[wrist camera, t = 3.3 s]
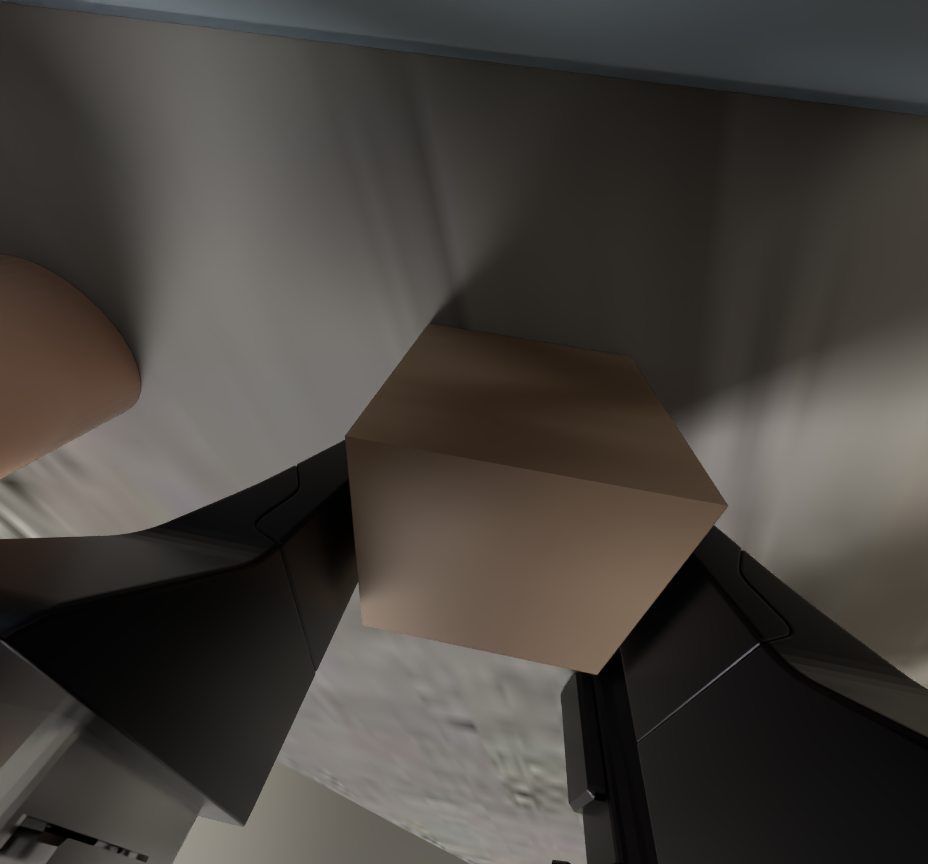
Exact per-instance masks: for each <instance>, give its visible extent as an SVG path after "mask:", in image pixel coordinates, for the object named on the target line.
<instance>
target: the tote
mask: <svg viewBox="0 0 928 864" xmlns="http://www.w3.org/2000/svg"><path fill="white" fill-rule="evenodd" d="M0 2H6V3H14V4H22V5H30V6H38V7H47V8H55V9H63V10H71V11H79V12H87V13H95V14H103V15H112V16H120V17H128V18H136V19H144V20H152V21H160V22H169V23H177V24H185V25H193V26H201V27H209V28H217V29H225V30H234V31H242V32H250V33H258V34H266V35H274V36H282V37H290V38H299V39H307V40H315V41H323V42H331V43H339V44H347V45H355V46H364V47H372V48H380V49H388V50H396V51H404V52H412V53H421V54H429V55H437V56H445V57H453V58H461V59H469V60H477V61H486V62H494V63H502V64H510V65H518V66H526V67H534V68H542V69H551V70H559V71H567V72H575V73H583V74H591V75H599V76H608V77H616V78H624V79H632V80H640V81H648V82H656V83H664V84H673V85H681V86H689V87H697V88H705V89H713V90H721V91H729V92H738V93H746V94H754V95H762V96H770V97H778V98H786V99H794V100H803V101H811V102H819V103H827V104H835V105H843V106H851V107H860V108H868V109H876V110H884V111H892V112H900V113H908V114H916V115H925V116H928V0H0Z"/></svg>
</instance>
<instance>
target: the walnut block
mask: <svg viewBox="0 0 928 864" xmlns="http://www.w3.org/2000/svg"><path fill="white" fill-rule="evenodd" d="M345 441H346V452H347V462H348V473H349V484H350V495H351V506H352V517H353V528H354V538H355V549H356V560H357V571H358V582H359V593H360V604H361V614H362V625H364V626H368V627H373V628H378V629H382V630H387V631H392V632H397V633H401V634H406V635H411V636H416V637H420V638H425V639H430V640H435V641H439V642H444V643H449V644H454V645H458V646H463V647H468V648H473V649H477V650H482V651H487V652H491V653H496V654H501V655H506V656H510V657H515V658H520V659H525V660H529V661H534V662H539V663H544V664H548V665H553V666H558V667H563V668H567V669H572V670H577V671H581V672H586V673H591V674H596V675H598V673H599V672H600V671H601V669H602V668H603V667H604V665H605V664H606V663H607V662H608V660H609V659H610V658H611V656H612V655H613V654H614V653H615V651H616V650H617V649H618V647H619V646H620V645H621V644H622V642H623V641H624V640H625V638H626V637H627V636H628V635H629V633H630V632H631V631H632V629H633V628H634V627H635V626H636V624H637V623H638V622H639V620H640V619H641V618H642V617H643V615H644V614H645V613H646V611H647V610H648V609H649V608H650V606H651V605H652V604H653V602H654V601H655V600H656V599H657V597H658V596H659V595H660V593H661V592H662V591H663V590H664V588H665V587H666V586H667V584H668V583H669V582H670V581H671V579H672V578H673V577H674V575H675V574H676V573H677V572H678V570H679V569H680V568H681V566H682V565H683V564H684V562H685V561H686V560H687V559H688V557H689V556H690V555H691V553H692V552H693V551H694V550H695V548H696V547H697V546H698V544H699V543H700V542H701V541H702V539H703V538H704V537H705V535H706V534H707V533H708V532H709V530H710V529H711V528H712V526H713V525H714V524H715V523H716V521H717V520H718V519H719V517H720V516H721V515H722V514H723V512H724V511H725V510H726V508H727V507H728V505H727V503H726V502H725V500H724V499H723V497H722V496H721V494H720V492H719V491H718V489H717V488H716V486H715V485H714V483H713V482H712V480H711V479H710V477H709V476H708V474H707V473H706V471H705V469H704V468H703V466H702V465H701V463H700V462H699V460H698V459H697V457H696V456H695V454H694V453H693V451H692V450H691V448H690V446H689V445H688V443H687V442H686V440H685V439H684V437H683V436H682V434H681V433H680V431H679V430H678V428H677V427H676V425H675V423H674V422H673V420H672V419H671V417H670V416H669V414H668V413H667V411H666V410H665V408H664V407H663V405H662V404H661V402H660V400H659V399H658V397H657V396H656V394H655V393H654V391H653V390H652V388H651V387H650V385H649V384H648V382H647V381H646V379H645V377H644V376H643V374H642V373H641V371H640V370H639V368H638V367H637V365H636V364H635V362H634V361H633V359H632V358H631V356H625V355H618V354H612V353H606V352H600V351H594V350H588V349H582V348H576V347H570V346H564V345H558V344H551V343H545V342H539V341H533V340H527V339H521V338H515V337H509V336H503V335H497V334H490V333H484V332H478V331H472V330H466V329H460V328H454V327H448V326H442V325H436V324H430V323H429V324H428V325H427V327H426V328H425V329H424V331H423V332H422V333H421V335H420V336H419V337H418V339H417V340H416V341H415V343H414V344H413V345H412V347H411V348H410V349H409V351H408V352H407V353H406V355H405V356H404V357H403V359H402V360H401V362H400V363H399V364H398V366H397V367H396V368H395V370H394V371H393V372H392V374H391V375H390V376H389V378H388V379H387V380H386V382H385V383H384V384H383V386H382V387H381V388H380V390H379V391H378V392H377V394H376V395H375V396H374V398H373V399H372V400H371V402H370V403H369V404H368V406H367V407H366V408H365V410H364V411H363V412H362V414H361V415H360V416H359V418H358V419H357V421H356V422H355V423H354V425H353V426H352V427H351V429H350V430H349V431H348V433H347V434H346V435H345Z"/></svg>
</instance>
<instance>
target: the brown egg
mask: <svg viewBox="0 0 928 864" xmlns="http://www.w3.org/2000/svg"><path fill="white" fill-rule="evenodd" d="M140 389H141V382H140V375H139V371H138V367H137V364H136V362H135V359H134V357H133V355H132V353H131V351H130V349H129V347H128V345H127V344H126V342H125V340H124V339H123V337H122V336H121V334H120V333H119V332H118V330H117V329H116V327H115V326H114V325H113V324H112V322H111V321H110V320H109V319H108V318H107V317H106V315H105V314H104V313H103V312H102V311H101V310H100V309H99V308H98V307H97V306H96V305H95V304H94V303H93V302H92V301H91V300H90V299H88V298H87V297H86V296H85V295H84V294H83V293H82V292H80V291H79V290H78V289H76V288H75V287H74V286H73V285H71V284H70V283H69V282H67V281H66V280H64V279H63V278H61V277H60V276H58V275H57V274H55V273H53V272H51V271H50V270H48V269H46V268H44V267H42V266H40V265H38V264H36V263H33V262H31V261H28V260H25V259H23V258H20V257H16V256H11V255H6V254H0V479H2V478H3V477H5V476H7V475H9V474H11V473H13V472H15V471H16V470H18V469H20V468H22V467H24V466H26V465H27V464H29V463H31V462H33V461H35V460H37V459H38V458H40V457H42V456H44V455H46V454H48V453H50V452H51V451H53V450H55V449H57V448H59V447H61V446H62V445H64V444H66V443H68V442H70V441H72V440H74V439H75V438H77V437H79V436H81V435H83V434H85V433H86V432H88V431H90V430H92V429H94V428H96V427H98V426H99V425H101V424H103V423H105V422H107V421H109V420H110V419H112V418H114V417H116V416H118V415H120V414H122V413H123V412H125V411H127V410H129V409H130V408H132V407H133V406H134V405H135V403H136V402H137V400H138V398H139V395H140Z"/></svg>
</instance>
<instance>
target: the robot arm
mask: <svg viewBox="0 0 928 864" xmlns="http://www.w3.org/2000/svg"><path fill="white" fill-rule="evenodd" d="M357 583H358V571H357V560H356V549H355V538H354V528H353V517H352V506H351V495H350V484H349V473H348V462H347V452H346V441H345V440H343V441H342V442H340V443H338V444H336V445H334V446H332V447H330V448H328V449H326V450H324V451H322V452H320V453H318V454H316V455H314V456H312V457H310V458H308V459H306V460H305V461H303V462H301V463H299V464H297V466H293V467H291V468H289V469H287V470H285V471H283V472H281V473H279V474H277V475H275V476H273V477H271V478H269V479H267V480H264V481H262V482H260V483H258V484H256V485H254V486H251V487H249V488H247V489H245V490H242V491H240V492H238V493H236V494H233V495H231V496H229V497H226V498H224V499H221V500H219V501H217V502H214V503H212V504H210V505H207V506H205V507H202V508H200V509H198V510H195V511H193V512H191V513H188V514H186V515H183V516H181V517H179V518H176V519H174V520H171V521H169V522H167V523H164V524H161V525H159V526H156V527H153V528H150V529H146V530H143V531H138V532H133V533H128V534H121V535H111V536H86V537H55V538H25V539H0V864H173V862H174V860H175V858H176V856H177V854H178V852H179V850H180V848H181V847H182V845H183V843H184V841H185V839H186V837H187V835H188V833H189V831H190V829H191V828H192V825H193V824H194V822H195V820H196V818H197V816H201V817H205V818H209V819H213V820H217V821H221V822H225V823H229V824H233V825H237V826H245V824H246V822H247V820H248V818H249V816H250V814H251V812H252V810H253V808H254V806H255V803H256V801H257V799H258V797H259V795H260V793H261V790H262V788H263V786H264V784H265V782H266V780H267V777H268V775H269V773H270V771H271V769H272V767H273V765H274V762H275V760H276V758H277V756H278V754H279V752H280V749H281V747H282V745H283V743H284V741H285V739H286V736H287V734H288V732H289V730H290V728H291V726H292V723H293V721H294V719H295V717H296V715H297V713H298V711H299V708H300V706H301V704H302V702H303V700H304V698H305V695H306V693H307V691H308V689H309V687H310V685H311V682H312V680H313V678H314V676H315V671H317V669H318V667H319V665H320V663H321V661H322V658H323V656H324V654H325V652H326V650H327V648H328V645H329V643H330V641H331V639H332V637H333V635H334V633H335V630H336V628H337V626H338V624H339V622H340V620H341V617H342V615H343V613H344V611H345V609H346V607H347V604H348V602H349V600H350V598H351V596H352V594H353V592H354V589H355V587H356V585H357ZM561 705H562V716H563V730H564V744H565V758H566V771H567V785H568V799H569V804H570V806H571V807H572V809H573V811H574V812H577V813H581V814H583V823H584V834H585V845H586V856H587V864H928V689H926V688H925V687H923V686H922V685H920V684H918V683H917V682H915V681H913V680H912V679H910V678H909V677H908V676H906V675H905V674H903V673H902V672H901V671H899V670H898V669H896V668H895V667H894V666H892V665H891V664H890V663H888V662H887V661H886V660H884V659H883V658H882V657H881V656H879V655H878V654H877V653H875V652H874V651H873V650H871V649H870V648H869V647H867V646H866V645H865V644H863V643H862V642H861V641H859V640H858V639H857V638H855V637H854V636H853V635H851V634H850V633H849V632H847V631H846V630H845V629H843V628H842V627H841V626H839V625H838V624H837V623H835V622H834V621H833V620H831V619H830V618H829V617H827V616H826V615H825V614H823V613H822V612H821V611H819V610H818V609H817V608H816V607H814V606H813V605H812V604H810V603H809V602H808V601H806V600H805V599H804V598H803V597H801V596H800V595H799V594H797V593H796V592H795V591H793V590H792V589H791V588H790V587H788V586H787V585H786V584H784V583H783V582H782V581H781V580H779V579H778V578H777V577H776V576H775V575H773V574H772V573H771V572H770V571H768V570H767V569H766V568H765V567H764V566H762V565H761V564H760V563H759V562H757V561H756V560H755V559H754V558H753V557H752V556H750V555H749V554H748V553H747V552H746V551H743V550H742V551H741V547H740V546H738V545H737V544H736V543H735V542H734V541H732V540H731V539H730V538H729V537H728V536H726V535H725V534H724V533H723V532H722V531H720V530H719V529H718V528H717V527H716V526H714V525H713V526H712V528H711V529H710V530H709V532H708V533H707V534H706V535H705V537H704V538H703V539H702V541H701V542H700V543H699V544H698V546H697V547H696V548H695V550H694V551H693V552H692V553H691V555H690V556H689V557H688V559H687V560H686V561H685V562H684V564H683V565H682V566H681V568H680V569H679V570H678V572H677V573H676V574H675V575H674V577H673V578H672V579H671V581H670V582H669V583H668V584H667V586H666V587H665V588H664V590H663V591H662V592H661V593H660V595H659V596H658V597H657V599H656V600H655V601H654V602H653V604H652V605H651V606H650V608H649V609H648V610H647V611H646V613H645V614H644V615H643V617H642V618H641V619H640V620H639V622H638V623H637V624H636V626H635V627H634V628H633V629H632V631H631V632H630V633H629V635H628V636H627V637H626V638H625V640H624V641H623V642H622V644H621V645H620V646H619V647H618V649H617V650H616V651H615V653H614V654H613V655H612V656H611V658H610V659H609V660H608V662H607V663H606V664H605V665H604V667H603V668H602V669H601V671H600V672H599V673H598V675H596V674H591V673H586V672H581V671H576V672H575V674H574V675H573V676H572V678H571V679H570V681H569V682H568V684H567V685H566V687H565V688H564V690H563V691H562V692H561ZM552 864H570V863H569V862H566V861H558V860H553V861H552Z"/></svg>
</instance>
